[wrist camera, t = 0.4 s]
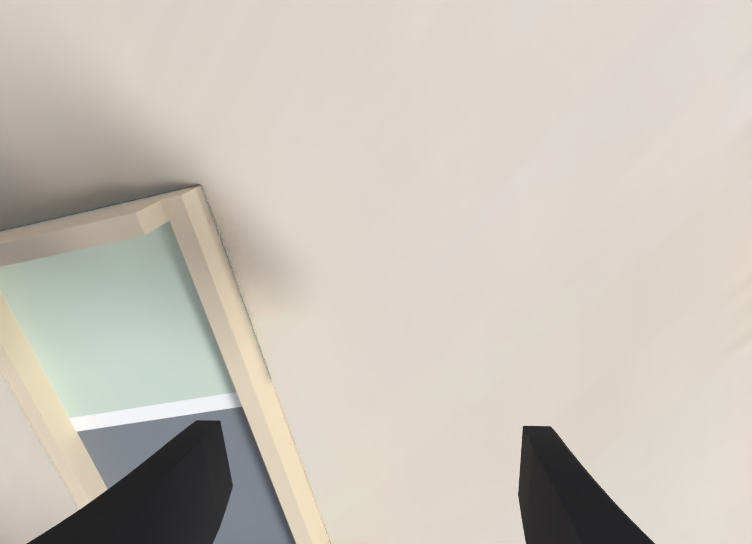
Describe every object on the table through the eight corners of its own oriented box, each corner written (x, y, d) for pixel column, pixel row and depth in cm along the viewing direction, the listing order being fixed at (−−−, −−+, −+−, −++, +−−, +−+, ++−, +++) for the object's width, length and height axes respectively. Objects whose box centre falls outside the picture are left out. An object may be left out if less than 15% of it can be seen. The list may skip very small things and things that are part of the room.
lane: (351, 601, 28) (341, 672, 25) (173, 616, 30) (142, 684, 27) (201, 184, 20) (157, 207, 17) (-32, 238, 22) (-113, 269, 19)
